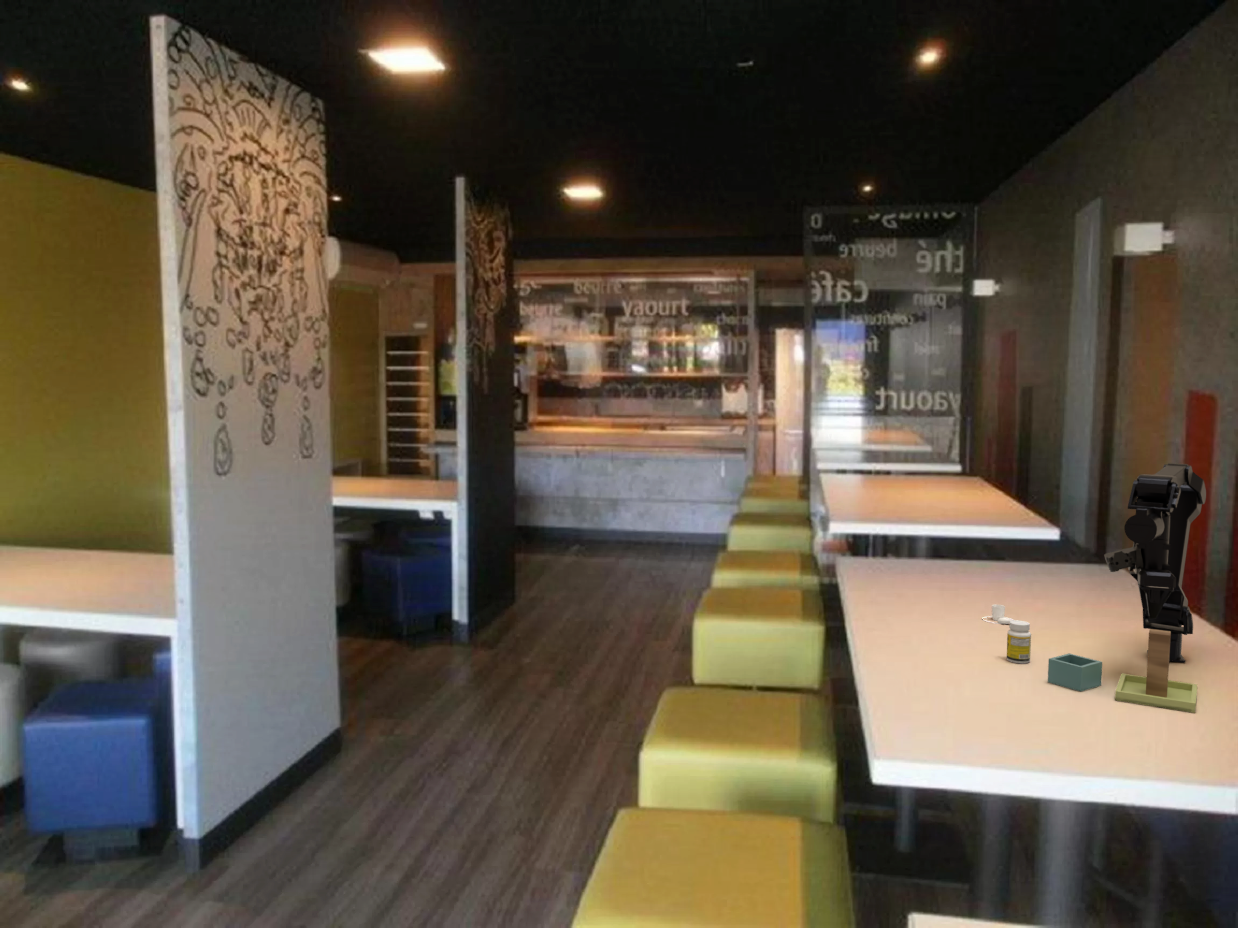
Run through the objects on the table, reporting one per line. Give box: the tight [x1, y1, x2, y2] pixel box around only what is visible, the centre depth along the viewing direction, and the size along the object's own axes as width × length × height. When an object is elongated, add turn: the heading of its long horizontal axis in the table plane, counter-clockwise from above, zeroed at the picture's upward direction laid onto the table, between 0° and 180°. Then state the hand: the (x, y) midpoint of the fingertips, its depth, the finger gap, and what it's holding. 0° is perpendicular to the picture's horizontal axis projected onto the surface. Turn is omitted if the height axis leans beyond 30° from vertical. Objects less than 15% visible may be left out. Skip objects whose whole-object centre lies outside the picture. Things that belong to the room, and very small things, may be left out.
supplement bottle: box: [1006, 619, 1032, 665], centre depth 208 cm, size 5×5×8 cm
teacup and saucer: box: [981, 603, 1015, 625], centre depth 243 cm, size 9×8×4 cm
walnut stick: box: [1146, 629, 1171, 698], centre depth 184 cm, size 4×4×12 cm
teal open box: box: [1047, 653, 1103, 692], centre depth 192 cm, size 7×7×5 cm
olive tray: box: [1114, 673, 1198, 714], centre depth 185 cm, size 13×13×2 cm
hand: (1148, 613), depth 197 cm, fingers open, 9 cm apart
